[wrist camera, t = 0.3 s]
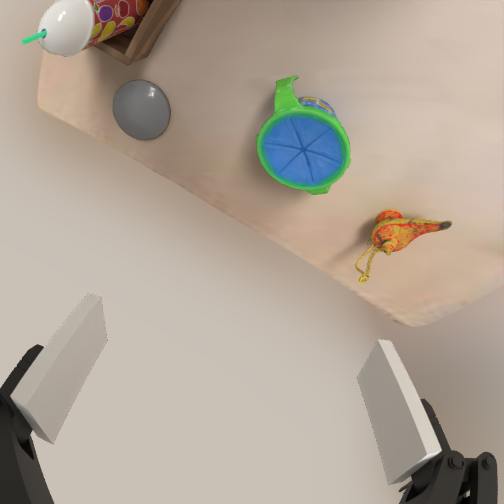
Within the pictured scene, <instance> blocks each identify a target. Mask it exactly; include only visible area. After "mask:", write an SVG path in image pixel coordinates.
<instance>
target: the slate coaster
mask: <svg viewBox="0 0 504 504" xmlns="http://www.w3.org/2000/svg"><path fill="white" fill-rule="evenodd" d="M113 114H114V117H115V119H116V121H117V123H118V125H119V126H120V128H121V129H122V130H123V131H124V132H125V133H127V134H128V135H130V136H131V137H133V138H136V139H140V140H150V139H153V138H156V137H157V136H159V135H160V134H161V133H162V132H163V131H164V130H165V129H166V127H167V126H168V124H169V121H170V115H171V111H170V105H169V102H168V99H167V97H166V96H165V94H164V93H163V91H162V90H161V89H160V88H159V87H157V86H156V85H155V84H153V83H151V82H149V81H145V80H133V81H130V82H128V83H126V84H125V85H123V86H122V87H120V88H119V89H118V91H117V92H116V94H115V96H114V99H113Z"/></svg>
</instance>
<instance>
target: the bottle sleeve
mask: <svg viewBox="0 0 504 504" xmlns="http://www.w3.org/2000/svg"><path fill="white" fill-rule="evenodd" d="M180 1H181V0H154V1H153V3H152V4H151V6H150V8H149V9H148V11H147V13H146V15H145V16H144V18H143V20H142V22H141V24H140V26H139V27H138V29H137V31H136V33H135V35H134V37H133V39H132V40H131V39H129V38H127V37H125V36H124V35H122V34H117V35H115V36H113V37H110V38H108V39H106V40H103V41H101V42H99V43H97V44H95V45H93V46H95V47H97V48H99V49H100V50H102V51H104V52H106V53H108V54H109V55H111V56H113V57H114V58H116V59H118V60H120V61H121V62H123V63H125V64H126V65H130V64H132V63H134V62H136V61H138V60H141V59H143V58H145V57H147V56H148V54H149V52H150V50H151V48H152V47H153V45H154V43H155V41H156V40H157V38H158V36H159V34H160V33H161V31H162V29H163V28H164V26H165V24H166V23H167V21H168V20H169V18H170V16H171V15H172V13H173V12H174V10H175V9H176V7H177V6H178V4H179V3H180Z"/></svg>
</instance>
